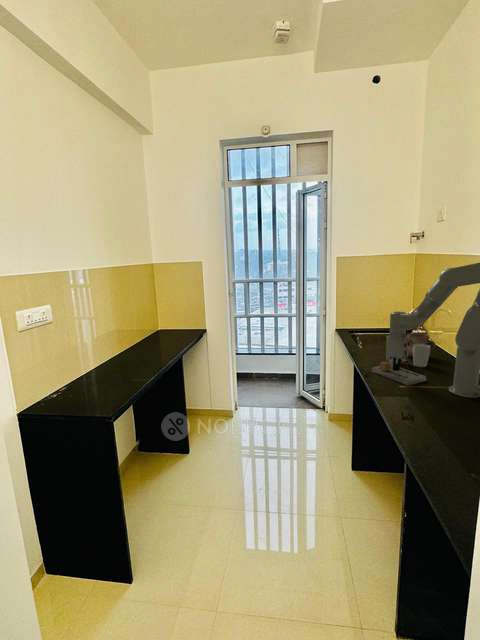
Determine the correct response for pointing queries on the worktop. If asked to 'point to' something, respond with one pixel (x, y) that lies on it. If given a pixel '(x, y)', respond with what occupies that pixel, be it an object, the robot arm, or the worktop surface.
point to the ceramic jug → (418, 341)
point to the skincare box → (386, 350)
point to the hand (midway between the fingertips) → (396, 370)
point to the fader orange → (385, 366)
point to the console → (401, 375)
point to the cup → (421, 354)
